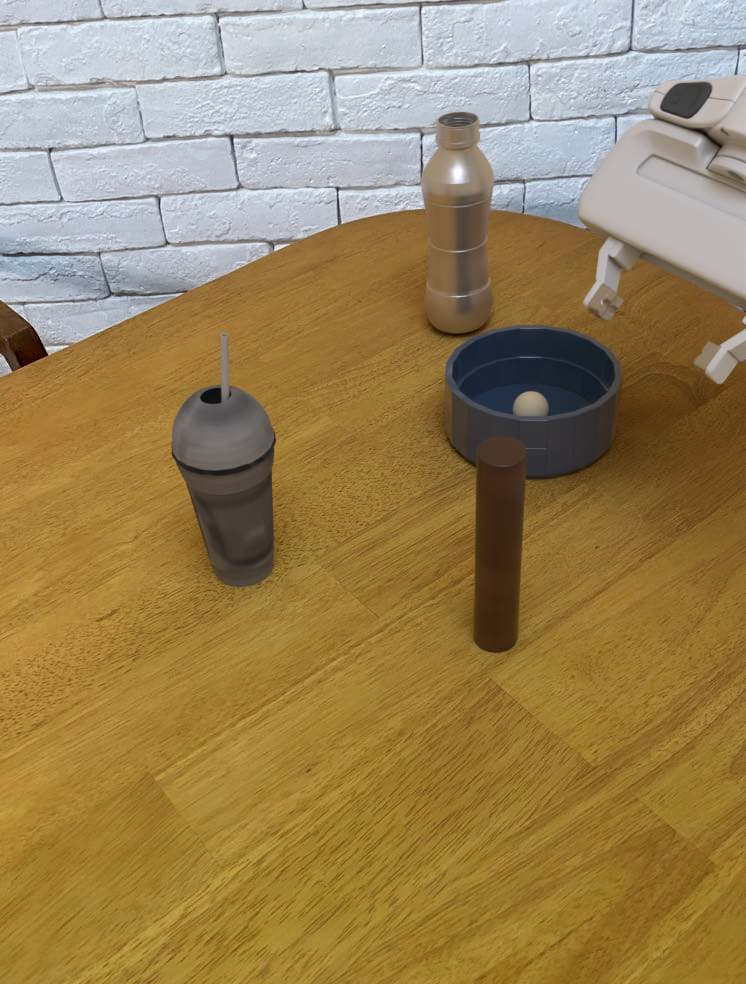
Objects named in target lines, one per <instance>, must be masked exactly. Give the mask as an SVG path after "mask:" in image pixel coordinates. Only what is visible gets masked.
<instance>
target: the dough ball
mask: <svg viewBox="0 0 746 984" xmlns="http://www.w3.org/2000/svg"><path fill="white" fill-rule="evenodd" d="M548 413H549V405H548V402H547V400H546V399H545V397H544V396H543V395H541V394H540V393H538V392H533V391H529V392H525V393H522V394H521V395H519V396H518V397H517V399H516V400H515V402H514V404H513V415H518V416H548Z"/></svg>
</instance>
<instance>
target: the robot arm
mask: <svg viewBox="0 0 746 984" xmlns="http://www.w3.org/2000/svg"><path fill="white" fill-rule="evenodd" d="M647 109H648V112H649V113H650V114H651V115H652V117H653V118H645V119H643V120H640V121H637V122H636V123H635V124H633V125H631V126H630V127H629V128H628V129H627V130H626V131H625V132H624V133H623V134H622V135H621V136H620V137H619V138H618V140H617V141H616V142H615V143H614V144H613V146H612V147H611V149H610V150H609V151H608V153H607V154H606V156H605V157H604V158H603V159H602V161H601V162H600V164H599V165H598V167H597V168H596V169H595V171H594V172H593V174H592V175H591V177H590V178H589V180H588V182H587V183H586V184H585V186H584V187H583V189H582V190H581V193H580V195H579V197H578V202H577V217H578V220H579V221H580V222H581V223H582V224H583V225H584V226H585V227H586V228H587V229H588V230H589V231H590V232H591V233H593V234H594V236H596V237H597V238H598V239H600V240H602V241H603V242H604V243H603V244H602V246H601V247H600V249H599V250H598V257H597V265H596V271H595V279H594V280H595V283H594V284H593V286H592V287H591V289H590V290H589V291H588V292H587V294H586V296H585V297H584V298H583V300H582V307H583V308H584V309H585V310H586V311H587V312H589V313H590V314H591V315H593V316H595V317H597V318H599V319H601V320H603V321H604V322H606V323H607V322H610V321H611V320H612V319H613V318H614V317H615V315H616V313H615V312H617V311H619V309H620V308H621V307H622V305H623V304H624V302H625V299H623V298H622V296H621V295H619V294H618V290H619V284H620V280H621V275H622V271H623V270H624V271H626V272H630V271H631V270H632V269H633V266H634V265H635V264H636V263H637V261H638V260H639V259H641V260H643V261H645V262H647V263H649V264H651V265H653V266H654V267H657V268H659V269H660V270H662V271H665V272H667V273H669V274H671V275H673V276H675V277H677V278H679V279H681V280H683V281H685V282H687V283H689V284H691V285H693V286H695V287H698V288H699V289H701V290H704V291H705V292H707V293H709V294H711V295H713V296H715V297H718V298H720V299H722V300H724V301H726V302H727V303H729V304H731V305H733V306H736V307H738V308H740V309H742V310H743V311H746V75H745V74H734V75H729V76H727V75H726V76H722V77H712V78H698V79H674V80H673V79H671V80H666V81H663V82H661V83H660V84H659V85H658V86H657V87H656V88H655V90H654V91H653V92H652V94H651V96H650V98H649V100H648V103H647ZM741 321H742V324H743V325H744V326H745V327H746V315H745V316H744V317H743V318H742V320H741ZM743 361H746V328H744V329H743V330H741V331H740V332H738V333H736V334H735V335H733V336H732V337H730V338H728V339H727V340H726V341H724V342H722V343H720V344H719V345H718V344H717V343H715V342H713V341H711V340H708V341H707V342H706V343H705V345H704V346H703V348H702V349H701V353H700V354H699V355H697V356H696V357H695V359H694V360H693V362H692V368H693V369H694V370H695V372H697V373H698V374H699V375H700V376H702V377H704V378H706V379H708V380H710V381H711V382H712V383H715V384H716V385H721V384H723V383H724V382H725V381H726V380H727V378H728V377H729V376H730V374H732V372H733V370H734V369H735V367H736V366H737V365H738V363H739V362H740V363H742V362H743Z"/></svg>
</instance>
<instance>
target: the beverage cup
mask: <svg viewBox="0 0 746 984" xmlns="http://www.w3.org/2000/svg"><path fill="white" fill-rule="evenodd" d="M219 336H220V337H219V338H220V339H219V340H220V384H214V385H210V386H207V387H203V388H200V389H199V390H197V391H195V392H194V393H192V394H191V395H189V397H187V398H186V400H184V402H183V403H182V404H181V405H180V407H179V408H178V411H177V413H176V415H175V418H174V419H173V423H172V428H171V456H172V458H173V460H174V461H175V463H176V464H175V465H176V466H177V469H178V471H179V473H180V475H181V477H182V479H183V480H184V482H185V485H186V487H187V491H188V495H189V497H190V500H191V504H192V507H193V511H194V513H195V514H194V515H195V517H196V521H197V523H198V526H199V530H200V532H201V533H200V534H201V536H202V539H203V543H204V546H205V549H206V553H207V555H208V559H209V560H210V562H211V565H212V567H213V570H214V574H215V576H216V577H217V579H218V580H219V581H221V583H223V584H225V585H228V586H232V587H248V586H253V585H254V584H258V583H261V582H262V581H263V580H265V579H267V577H268V576H269V575H270V574H271V573H272V571H273V568H274V565H275V564H274V551H275V533H274V501H273V498H274V497H273V466H274V461H275V446H276V443H277V437H276V432H275V429H274V427H273V426H272V423H271V418H270V416H269V414H268V412H267V411H266V409H265V408H264V407H263V406H262V404H261V402H259V400H258V399H257V398H256V397H255V396H253V395H252V394H251V393H250V392H248V391H246V390H244V389H242V388H240V387H237V386H233V385H230V358H229V357H230V355H229V354H230V353H229V352H230V351H229V334H228V333H226V332H222V333H220V334H219Z"/></svg>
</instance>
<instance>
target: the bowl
mask: <svg viewBox="0 0 746 984" xmlns="http://www.w3.org/2000/svg"><path fill="white" fill-rule="evenodd" d="M623 380H624V376H623V370H622V363H621V361H620V360H619V358H618V357H617V356H616V354H615V353H614V352H613V350H612V349H611V348H609V347H608V346H607V345H606V344H604V343H602V342H601V341H599V340H597V339H596V338H594V337H593V336H590V335H587V334H584V333H583V332H580V331H579V332H578V331H576V330H575V329H570V328H565V327H559V326H552V325H547V324H519V325H518V324H517V325H511V326H504V327H497V328H494V329H490V330H488V331H485V332H482V333H480V334H476V335H474V336H472V337H470V338H469V339H467V340H466V341H464V342H463V343H461V344H460V345H459V346H457V347H456V348H454V350H453V351H452V353H451V354H450V356H449V357H448V359H447V360H446V362H445V371H444V431H445V433H446V436H447V437H448V439H449V441H450V444H451V446H453V447H454V448H455V450H456V451H457V452H458V453H459V454H460V455H461V456H462V457H463V458H464V459H465V460H467V461H468V462H470V463H471V464H473V465H474V466H476V452H477V448H478V446H479V445H480V444H481V443H482V442H483V441H485V440H487V439H489V438H493V437H510V438H513V439H516V440H518V441H520V442H521V443H523V445H524V446H525V447H526V449H527V463H526V480H528V479H529V480H530V479H531V480H536V479H538V480H540V479H551V478H557V477H561V476H566V475H569V474H573V473H575V472H578V471H581V470H583V469H584V468H586V467H588V466H590V465H592V464H594V463H595V462H596V461H597V460H598V459H600V458H601V457H602V455H603V454H605V453H606V452H607V451H608V450H609V449H611V448H610V447H611V446H612V444H613V442H614V439H615V437H616V435H617V432H618V425H619V415H620V408H621V407H620V405H621V397H622V388H623ZM529 391H533V392H538V393H540V394H541V395H543V396H544V397H545V399H546V400H547V402H548V405H549V413H548V416H518V415H513V404H514V402H515V400H516V399H517V397H518V396H519V395H521V394H522V393H525V392H529Z"/></svg>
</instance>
